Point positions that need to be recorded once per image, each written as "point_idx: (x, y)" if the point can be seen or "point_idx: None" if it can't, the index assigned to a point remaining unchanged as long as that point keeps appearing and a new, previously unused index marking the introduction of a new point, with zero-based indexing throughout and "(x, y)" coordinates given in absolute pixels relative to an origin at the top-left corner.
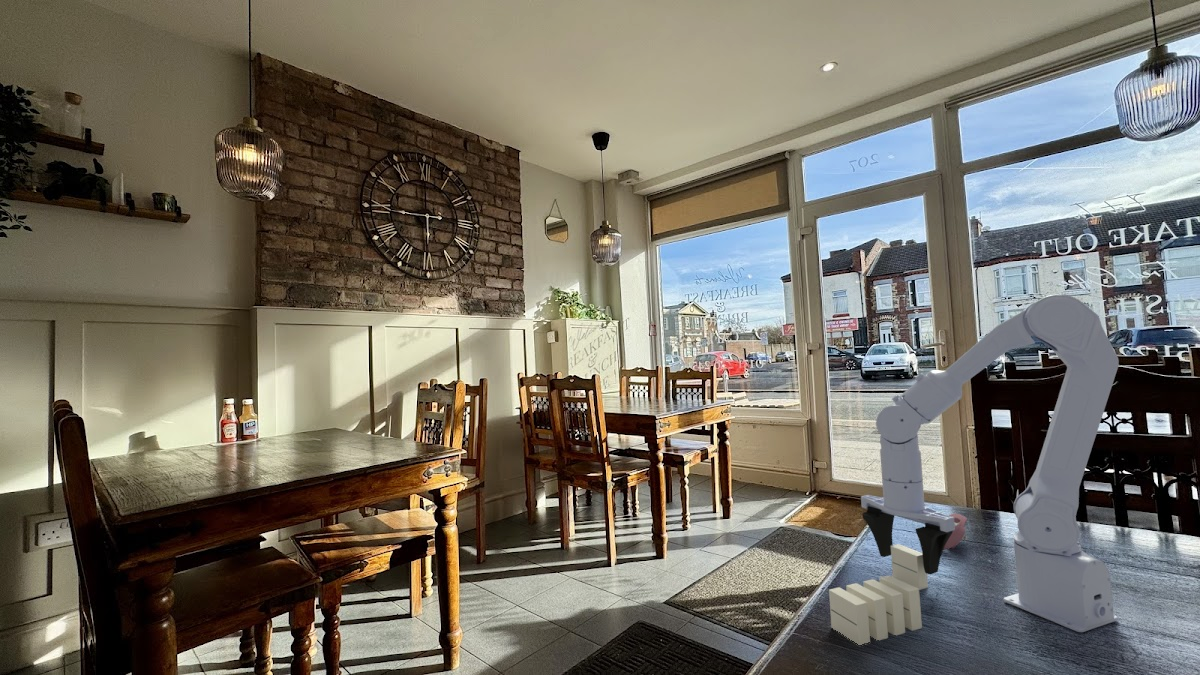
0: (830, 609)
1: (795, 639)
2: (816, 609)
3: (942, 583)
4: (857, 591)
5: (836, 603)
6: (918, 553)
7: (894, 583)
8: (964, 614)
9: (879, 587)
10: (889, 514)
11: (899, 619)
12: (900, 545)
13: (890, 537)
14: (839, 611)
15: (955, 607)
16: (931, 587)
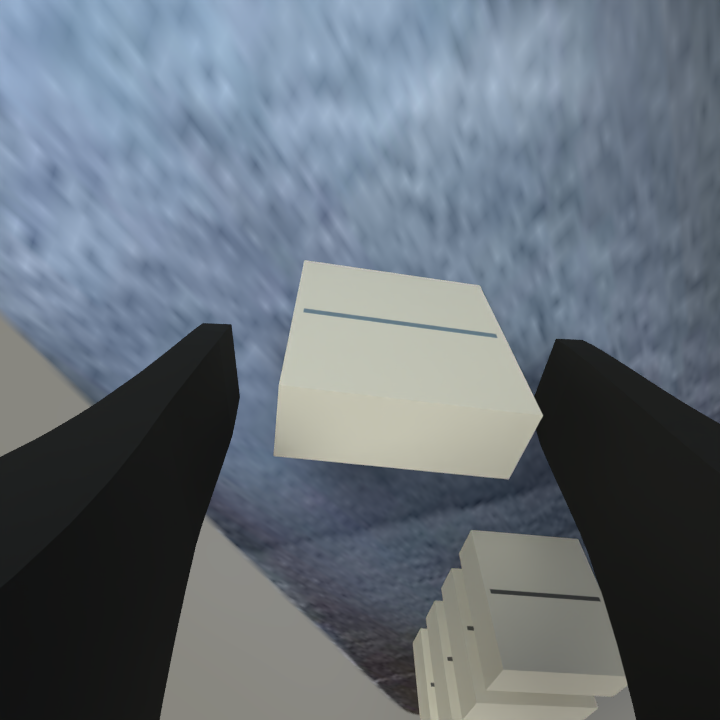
0: (418, 696)
1: (395, 687)
2: (330, 624)
3: (519, 162)
4: None
5: None
6: (498, 438)
7: (550, 690)
8: (682, 395)
9: (523, 717)
10: (54, 684)
11: None
12: (308, 398)
13: (182, 408)
14: None
15: (641, 370)
16: (492, 269)
